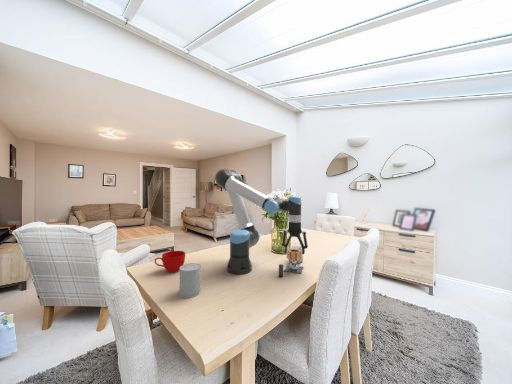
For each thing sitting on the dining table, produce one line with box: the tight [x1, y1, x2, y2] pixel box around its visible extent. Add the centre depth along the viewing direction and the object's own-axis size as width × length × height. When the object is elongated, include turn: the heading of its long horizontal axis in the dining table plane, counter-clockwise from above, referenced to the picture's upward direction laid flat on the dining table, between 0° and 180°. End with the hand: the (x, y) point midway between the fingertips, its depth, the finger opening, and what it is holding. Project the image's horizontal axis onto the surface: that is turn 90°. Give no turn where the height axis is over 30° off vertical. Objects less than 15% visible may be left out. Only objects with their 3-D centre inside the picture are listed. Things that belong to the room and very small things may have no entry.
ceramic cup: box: [154, 250, 186, 273], centre depth 126 cm, size 13×17×10 cm
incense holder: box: [288, 245, 304, 264], centre depth 144 cm, size 10×8×10 cm
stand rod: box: [278, 263, 284, 278], centre depth 120 cm, size 2×2×6 cm
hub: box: [283, 261, 305, 275], centre depth 130 cm, size 10×10×7 cm
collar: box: [287, 249, 301, 261], centre depth 130 cm, size 8×8×5 cm
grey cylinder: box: [179, 262, 202, 299], centre depth 100 cm, size 10×10×12 cm
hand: (294, 258), depth 130 cm, fingers closed on collar, 8 cm apart
